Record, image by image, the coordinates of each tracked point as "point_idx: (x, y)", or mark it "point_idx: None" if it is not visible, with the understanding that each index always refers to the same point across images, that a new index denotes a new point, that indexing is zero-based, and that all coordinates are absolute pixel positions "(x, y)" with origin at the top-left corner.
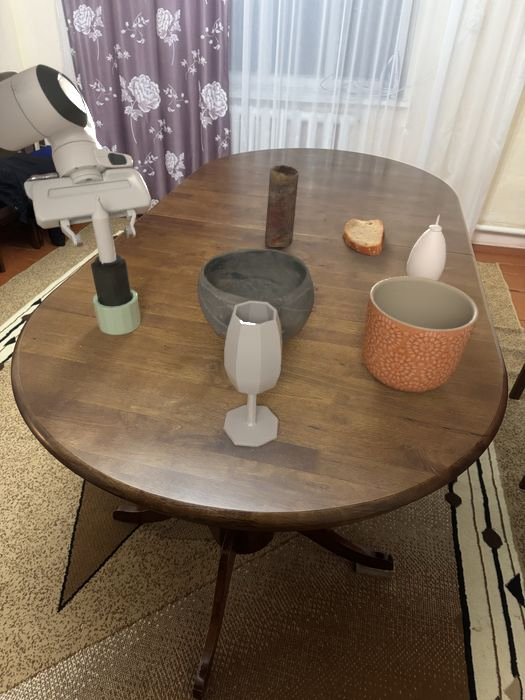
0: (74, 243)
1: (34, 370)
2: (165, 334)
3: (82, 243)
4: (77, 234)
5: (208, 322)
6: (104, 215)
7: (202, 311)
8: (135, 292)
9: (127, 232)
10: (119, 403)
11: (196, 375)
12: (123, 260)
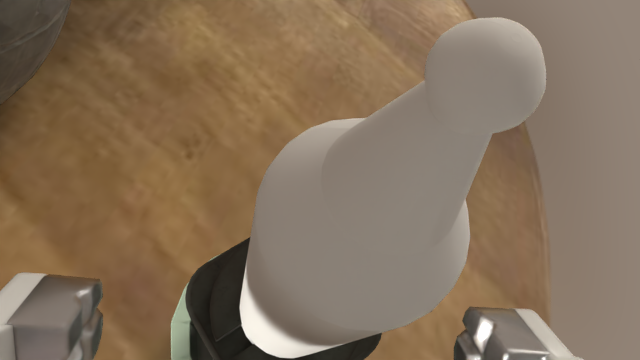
0: (528, 309)
1: (512, 233)
2: (158, 203)
3: (470, 308)
4: (526, 350)
5: (69, 3)
6: (339, 122)
7: (55, 18)
8: (173, 329)
9: (91, 286)
10: (364, 43)
11: (186, 25)
12: (200, 289)
